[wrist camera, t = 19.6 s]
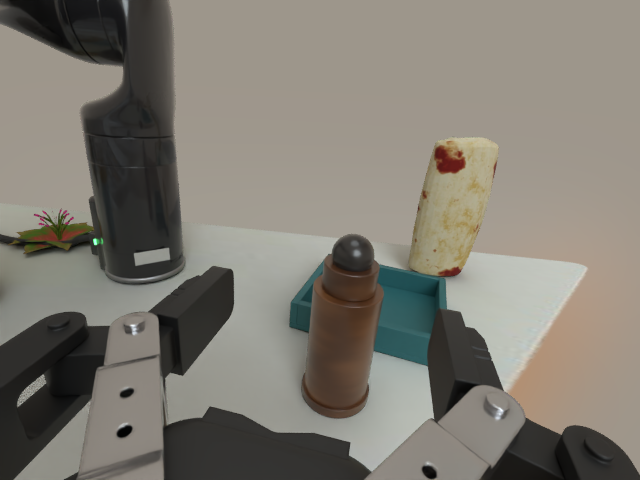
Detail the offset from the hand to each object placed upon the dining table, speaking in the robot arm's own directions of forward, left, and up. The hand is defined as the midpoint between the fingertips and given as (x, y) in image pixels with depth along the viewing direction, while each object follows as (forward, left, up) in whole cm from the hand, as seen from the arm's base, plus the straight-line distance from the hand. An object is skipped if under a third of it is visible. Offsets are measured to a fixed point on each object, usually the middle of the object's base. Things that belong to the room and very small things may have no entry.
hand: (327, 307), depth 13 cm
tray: (0, +24, -15) cm, 28 cm away
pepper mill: (-1, +11, -15) cm, 19 cm away
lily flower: (-47, +22, -15) cm, 54 cm away
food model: (+7, +39, -15) cm, 42 cm away
